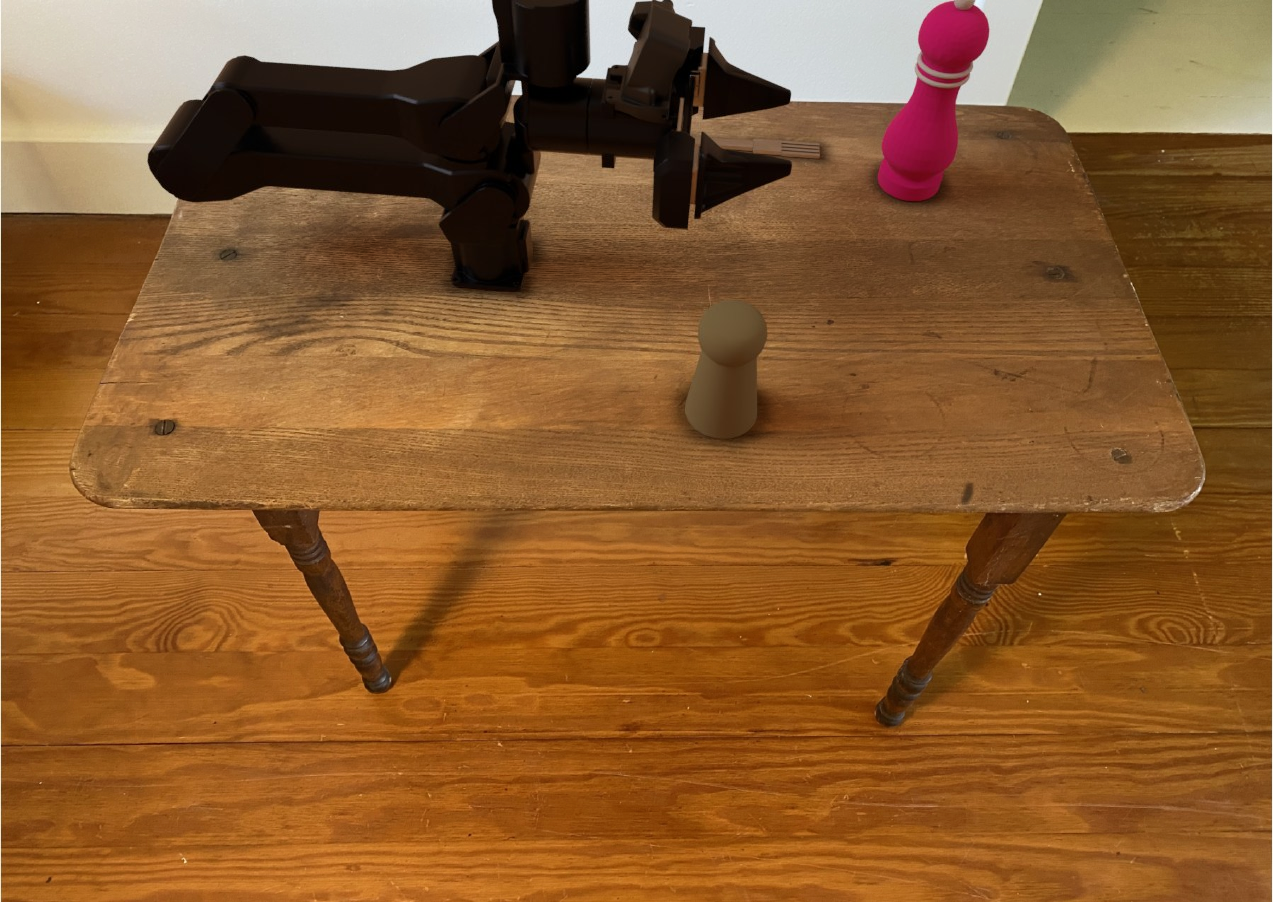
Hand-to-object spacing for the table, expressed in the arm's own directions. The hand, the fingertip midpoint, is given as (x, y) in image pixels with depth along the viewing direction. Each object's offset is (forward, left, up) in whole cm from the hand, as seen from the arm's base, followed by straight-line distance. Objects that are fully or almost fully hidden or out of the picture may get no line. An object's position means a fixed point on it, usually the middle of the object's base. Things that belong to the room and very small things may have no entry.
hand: (790, 131), depth 71 cm
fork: (-3, +21, -17) cm, 27 cm away
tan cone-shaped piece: (-3, -15, -17) cm, 23 cm away
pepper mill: (+15, +17, -17) cm, 28 cm away
